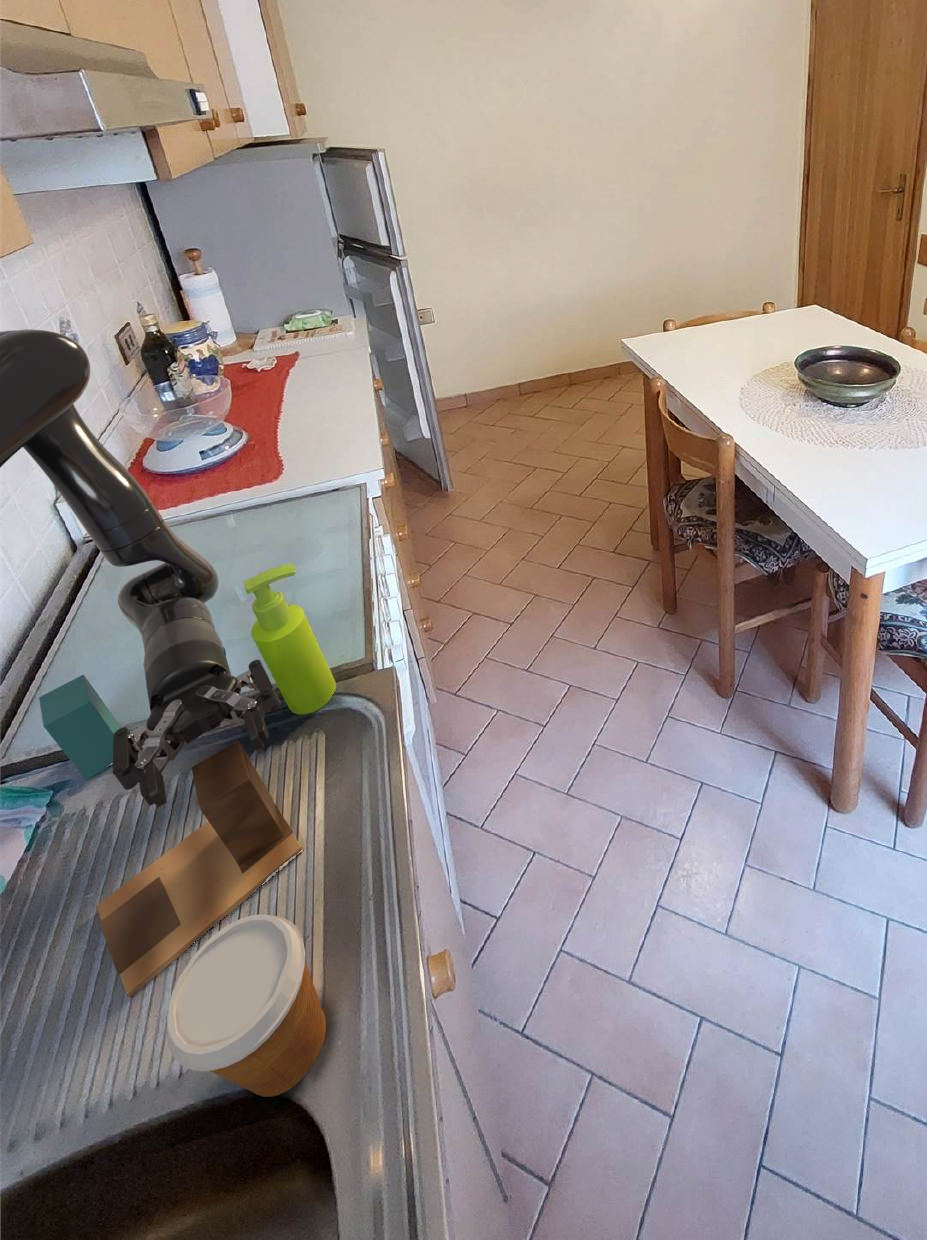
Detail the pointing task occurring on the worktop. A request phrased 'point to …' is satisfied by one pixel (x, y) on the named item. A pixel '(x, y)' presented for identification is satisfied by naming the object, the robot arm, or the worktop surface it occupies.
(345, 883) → the worktop surface
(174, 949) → the word board
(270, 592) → the soap dispenser
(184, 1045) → the disposable coffee cup
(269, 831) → the brown wooden block
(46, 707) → the tall teal prism
